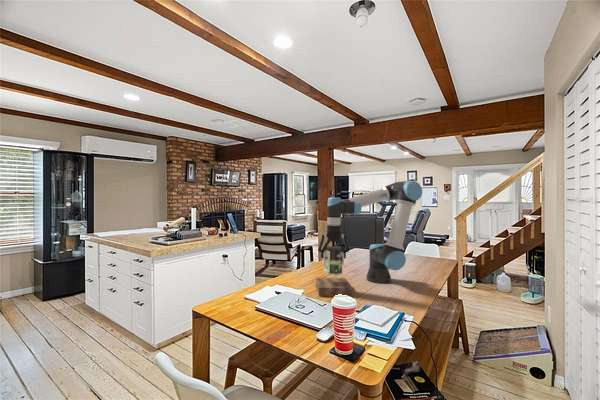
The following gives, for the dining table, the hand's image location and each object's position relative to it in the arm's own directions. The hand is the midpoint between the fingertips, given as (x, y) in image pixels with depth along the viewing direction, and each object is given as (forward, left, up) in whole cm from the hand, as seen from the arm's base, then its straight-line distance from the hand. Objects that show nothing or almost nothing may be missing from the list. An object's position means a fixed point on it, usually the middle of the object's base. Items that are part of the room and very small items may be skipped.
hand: (333, 264), depth 158 cm
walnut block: (0, 0, -15) cm, 15 cm away
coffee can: (0, 0, -5) cm, 5 cm away
